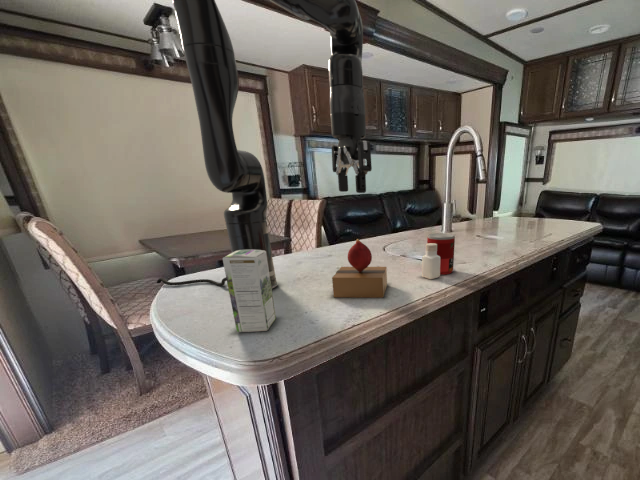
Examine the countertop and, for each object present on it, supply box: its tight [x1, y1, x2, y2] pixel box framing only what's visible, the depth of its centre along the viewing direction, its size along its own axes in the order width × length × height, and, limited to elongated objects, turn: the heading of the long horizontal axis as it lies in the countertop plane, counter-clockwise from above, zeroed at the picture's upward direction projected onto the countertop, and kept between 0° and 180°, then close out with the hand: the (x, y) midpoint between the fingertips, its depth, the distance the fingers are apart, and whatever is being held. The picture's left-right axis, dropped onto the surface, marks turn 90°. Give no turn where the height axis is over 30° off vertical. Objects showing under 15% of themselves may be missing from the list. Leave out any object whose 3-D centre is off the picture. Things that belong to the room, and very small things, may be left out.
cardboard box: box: [331, 266, 388, 299], centre depth 79 cm, size 12×10×5 cm
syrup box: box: [222, 250, 277, 333], centre depth 59 cm, size 6×6×14 cm
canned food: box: [426, 232, 456, 276], centre depth 94 cm, size 8×8×11 cm
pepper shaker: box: [421, 243, 441, 280], centre depth 89 cm, size 4×4×10 cm
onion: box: [347, 238, 373, 272], centre depth 77 cm, size 6×6×8 cm
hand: (352, 192), depth 74 cm, fingers open, 8 cm apart
